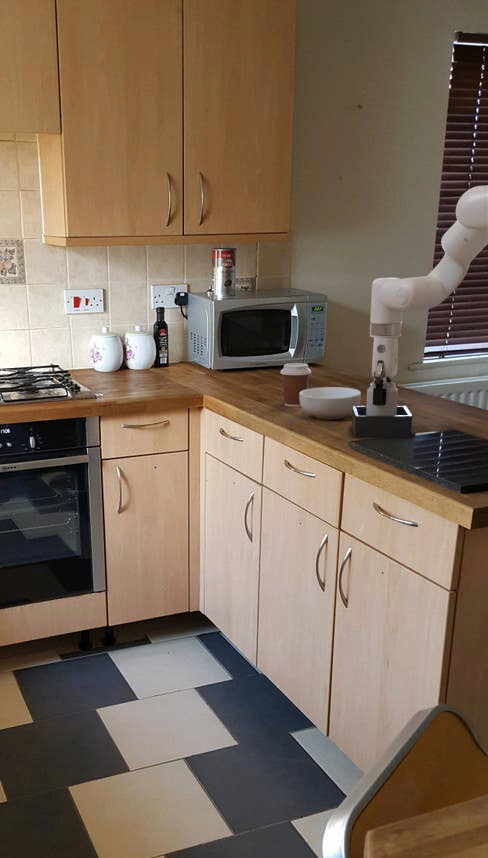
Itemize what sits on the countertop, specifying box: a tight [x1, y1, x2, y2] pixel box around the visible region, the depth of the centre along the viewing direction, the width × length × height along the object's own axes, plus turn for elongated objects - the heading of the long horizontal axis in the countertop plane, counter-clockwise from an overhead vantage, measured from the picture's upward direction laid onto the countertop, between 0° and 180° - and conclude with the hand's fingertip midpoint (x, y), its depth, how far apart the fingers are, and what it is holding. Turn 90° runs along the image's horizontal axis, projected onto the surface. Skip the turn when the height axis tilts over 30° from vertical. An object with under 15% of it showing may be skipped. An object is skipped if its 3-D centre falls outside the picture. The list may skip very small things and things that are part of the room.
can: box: [365, 382, 399, 416], centre depth 221 cm, size 8×8×12 cm
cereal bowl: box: [299, 386, 362, 420], centre depth 243 cm, size 17×17×7 cm
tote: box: [350, 405, 413, 439], centre depth 222 cm, size 14×14×6 cm
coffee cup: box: [280, 362, 312, 407], centre depth 261 cm, size 9×9×12 cm
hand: (382, 401), depth 220 cm, fingers closed on can, 7 cm apart
